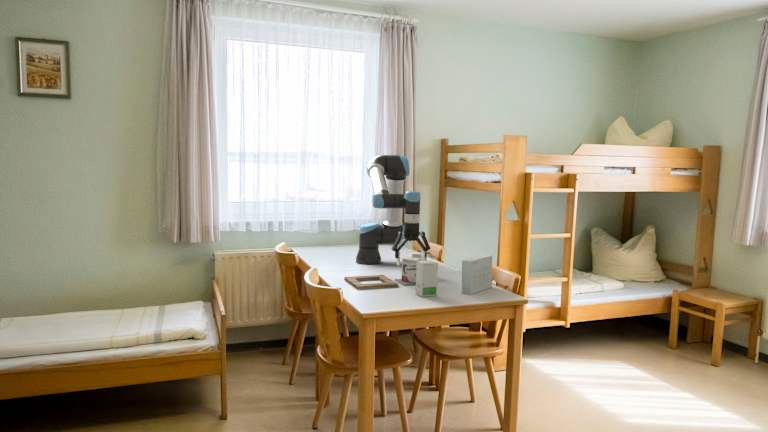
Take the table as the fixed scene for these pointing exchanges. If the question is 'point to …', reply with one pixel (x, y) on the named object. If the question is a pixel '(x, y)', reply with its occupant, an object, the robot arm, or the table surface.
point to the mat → (405, 282)
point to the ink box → (409, 269)
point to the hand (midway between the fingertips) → (410, 264)
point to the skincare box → (426, 278)
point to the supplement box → (418, 255)
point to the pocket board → (386, 283)
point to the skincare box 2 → (476, 274)
